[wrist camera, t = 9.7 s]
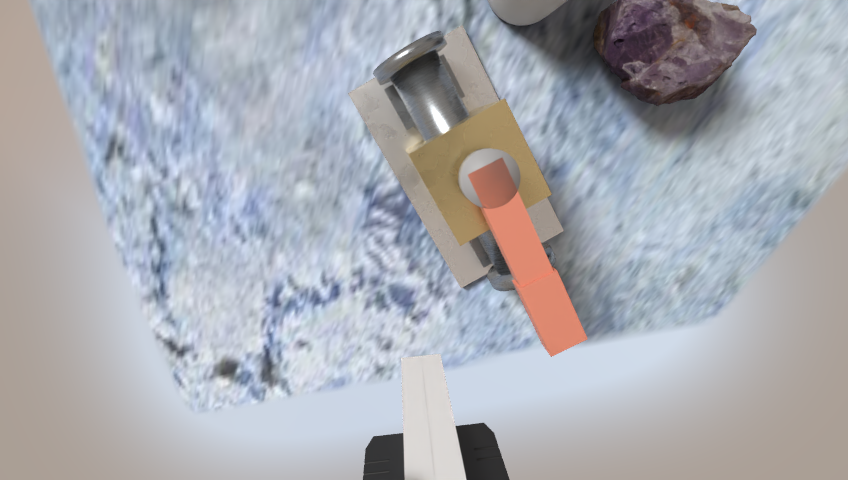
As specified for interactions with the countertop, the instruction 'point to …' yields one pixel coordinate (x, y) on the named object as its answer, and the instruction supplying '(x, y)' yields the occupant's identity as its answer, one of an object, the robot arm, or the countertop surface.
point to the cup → (524, 10)
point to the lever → (521, 246)
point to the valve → (451, 148)
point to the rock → (670, 45)
